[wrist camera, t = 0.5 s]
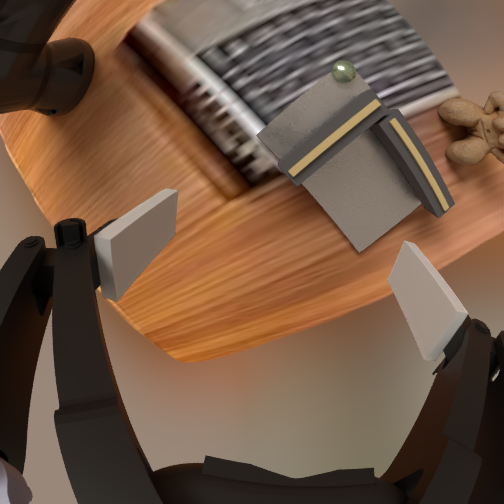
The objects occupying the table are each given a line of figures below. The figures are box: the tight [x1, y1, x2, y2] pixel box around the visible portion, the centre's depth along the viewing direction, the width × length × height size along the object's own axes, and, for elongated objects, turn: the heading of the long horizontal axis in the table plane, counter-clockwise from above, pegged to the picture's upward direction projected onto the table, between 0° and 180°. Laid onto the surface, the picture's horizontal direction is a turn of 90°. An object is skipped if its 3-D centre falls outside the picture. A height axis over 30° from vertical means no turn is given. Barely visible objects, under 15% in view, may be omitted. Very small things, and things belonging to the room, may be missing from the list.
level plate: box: [256, 61, 422, 253], centre depth 32 cm, size 22×16×2 cm
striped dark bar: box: [278, 89, 389, 187], centre depth 28 cm, size 3×14×6 cm, turn 134°
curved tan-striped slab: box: [370, 109, 455, 218], centre depth 28 cm, size 3×14×6 cm, turn 44°
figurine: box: [438, 91, 504, 166], centre depth 22 cm, size 11×9×15 cm
